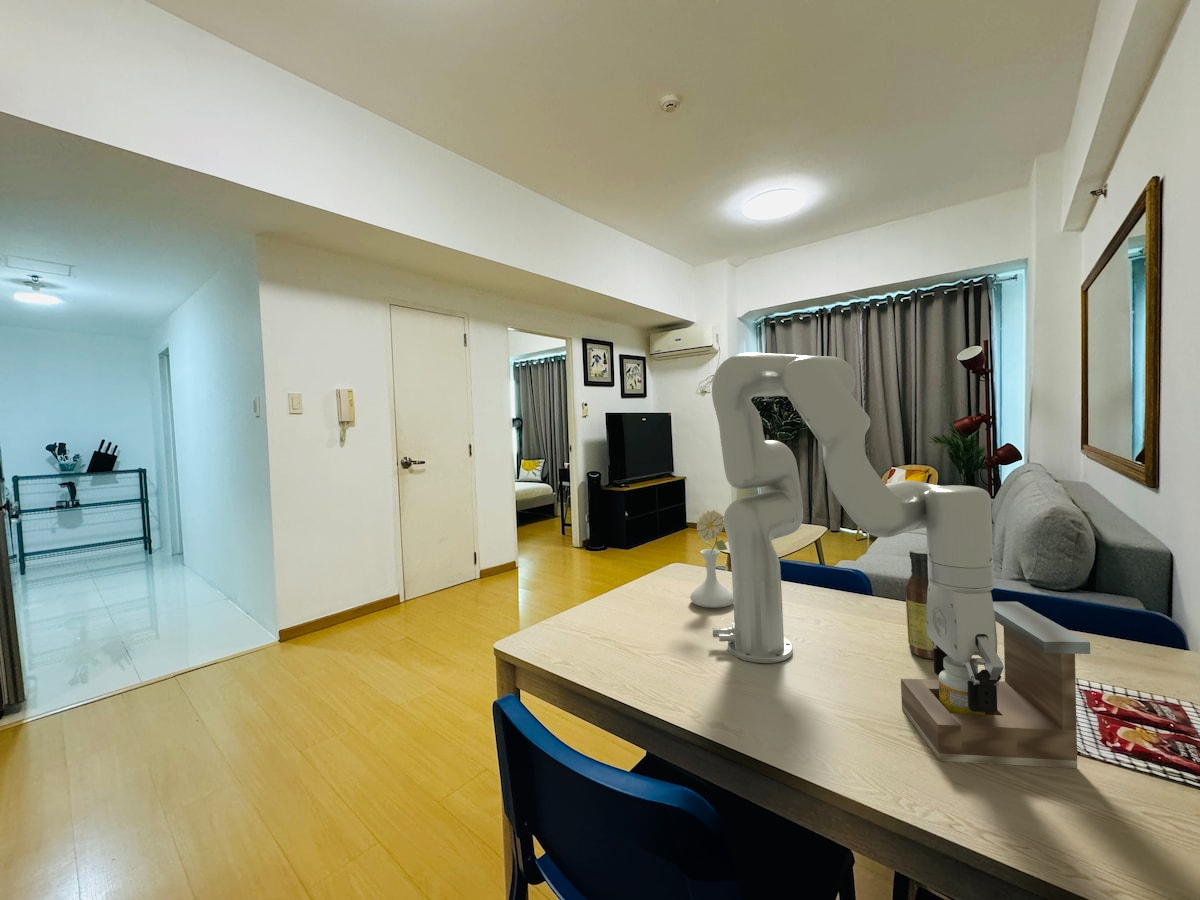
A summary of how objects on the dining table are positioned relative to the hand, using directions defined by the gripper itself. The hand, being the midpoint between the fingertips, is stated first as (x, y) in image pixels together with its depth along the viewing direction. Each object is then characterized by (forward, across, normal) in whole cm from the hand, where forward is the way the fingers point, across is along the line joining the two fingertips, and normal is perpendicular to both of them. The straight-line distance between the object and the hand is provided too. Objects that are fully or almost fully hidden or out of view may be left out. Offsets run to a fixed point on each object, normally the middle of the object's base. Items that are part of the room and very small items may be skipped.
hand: (963, 691), depth 71 cm
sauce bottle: (+7, -26, +6) cm, 27 cm away
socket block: (+6, 0, +3) cm, 7 cm away
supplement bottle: (+6, 0, 0) cm, 6 cm away
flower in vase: (+7, -51, -33) cm, 61 cm away
